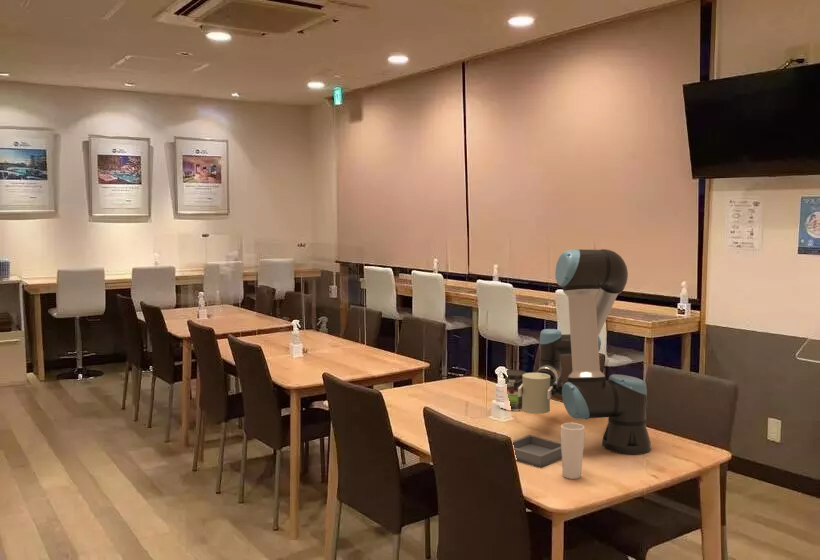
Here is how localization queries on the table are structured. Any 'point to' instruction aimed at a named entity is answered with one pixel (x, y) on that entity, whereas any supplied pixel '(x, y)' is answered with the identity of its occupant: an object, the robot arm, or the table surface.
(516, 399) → the coffee can
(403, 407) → the table surface
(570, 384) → the robot arm
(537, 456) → the tray
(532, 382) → the can
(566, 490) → the table surface
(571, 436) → the drinking glass
